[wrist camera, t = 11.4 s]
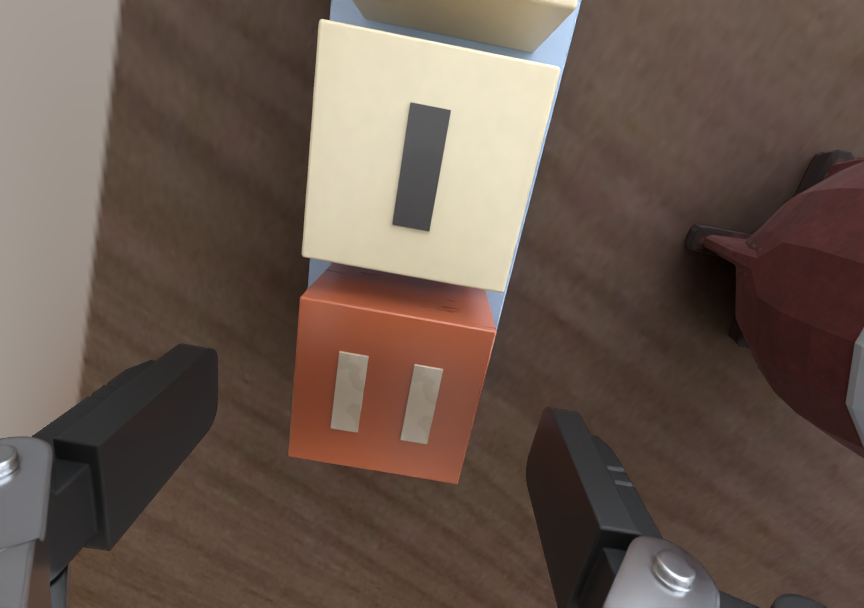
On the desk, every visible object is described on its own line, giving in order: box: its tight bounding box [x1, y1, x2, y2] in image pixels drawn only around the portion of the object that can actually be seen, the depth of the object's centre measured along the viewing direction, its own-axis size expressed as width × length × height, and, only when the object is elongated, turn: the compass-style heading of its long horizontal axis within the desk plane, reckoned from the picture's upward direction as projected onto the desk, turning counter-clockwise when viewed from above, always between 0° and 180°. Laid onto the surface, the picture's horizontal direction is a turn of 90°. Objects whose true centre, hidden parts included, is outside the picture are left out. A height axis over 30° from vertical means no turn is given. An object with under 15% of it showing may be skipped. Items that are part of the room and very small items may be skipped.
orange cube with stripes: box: [288, 262, 497, 484], centre depth 12 cm, size 5×5×4 cm
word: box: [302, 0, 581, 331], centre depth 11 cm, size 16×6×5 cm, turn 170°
